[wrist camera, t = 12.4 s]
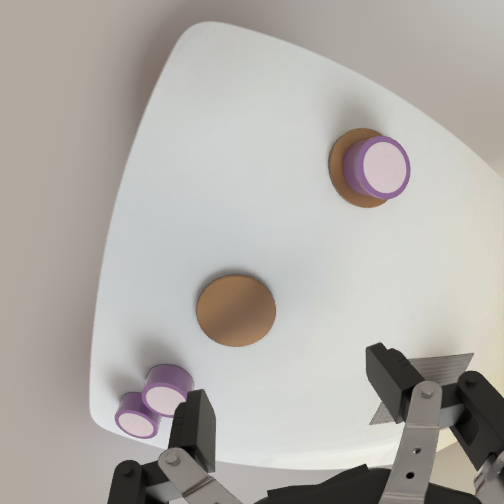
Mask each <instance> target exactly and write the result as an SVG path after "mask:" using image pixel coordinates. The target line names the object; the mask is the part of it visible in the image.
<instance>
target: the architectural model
mask: <svg viewBox="0 0 504 504" xmlns="http://www.w3.org/2000/svg"><path fill="white" fill-rule="evenodd" d="M473 355H474V353H473V354H465V355H457V356H448V357H437V358H425V359H410V360H408V361H409V362H410V364H412V365H413V366H414V367H415V368H416V370H417V371H418V372H419V373H420V374H421V375H422V376H423V377H424V379H425V380H426V381H434V382H436V383H438V384H439V385H440V386H443V385H448V384H452V383H456V382H457V381H458V378H459V376H460V375H461V374H462V373H464V372H465V371H466V369H467V367H468V365H469V363H470V361H471V359H472V357H473ZM388 422H394V419H393V418H392V416H391V414H390V413H389V411H388V410H387V408H386V407H385V405H384V403H383V402H382V403H381V405H380V407H379V409H378V410H377V412H376V414H375V416H374V418H373V419H372V421H371V423H370V424H369V425H374V424H381V423H388ZM448 428H449V427H445V428H440V430H439V431H442V430H445V429H448Z"/></svg>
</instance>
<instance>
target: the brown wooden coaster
mask: <svg viewBox="0 0 504 504" xmlns="http://www.w3.org/2000/svg"><path fill="white" fill-rule="evenodd" d="M196 312H197V319H198V322H199V325H200V327H201V329H202V330H203V331H204V333H205V334H206V335H207V336H208V337H209V338H211V339H212V340H214V341H215V342H217V343H219V344H222V345H225V346H231V347H241V346H246V345H250V344H253V343H255V342H257V341H258V340H260V339H262V338H263V337H264V336H265V335H266V334H267V333H268V332H269V330H270V329H271V327H272V325H273V323H274V320H275V316H276V307H275V302H274V299H273V297H272V295H271V293H270V291H269V290H268V289H267V287H265V286H264V285H263V284H262V283H261V282H259V281H258V280H256V279H254V278H252V277H249V276H245V275H228V276H224V277H221V278H218V279H216V280H215V281H213V282H212V283H210V284H209V285H208V286H207V287H206V288H205V289H204V290H203V292H202V293H201V295H200V297H199V300H198V304H197V311H196Z"/></svg>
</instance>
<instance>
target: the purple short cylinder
mask: <svg viewBox="0 0 504 504" xmlns="http://www.w3.org/2000/svg"><path fill="white" fill-rule="evenodd" d="M343 172H344V176H345V179H346V181H347V183H348V184H349V186H350V187H351V188H352V189H353V190H354V191H355V192H356V193H358V194H360V195H363V196H367V197H373V198H378V199H392V198H395V197H396V196H398V195H399V194H401V193H402V192H403V191H404V189H405V188H406V186H407V184H408V181H409V178H410V162H409V159H408V156H407V154H406V152H405V150H404V149H403V147H402V146H401V145H400V144H399V143H398V142H397V141H395V140H394V139H392V138H390V137H387V136H375V137H371V138H367V139H363V140H360V141H357V142H355V143H354V144H352V145H351V146H350V147H349V148H348V150H347V151H346V153H345V156H344V159H343Z"/></svg>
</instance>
